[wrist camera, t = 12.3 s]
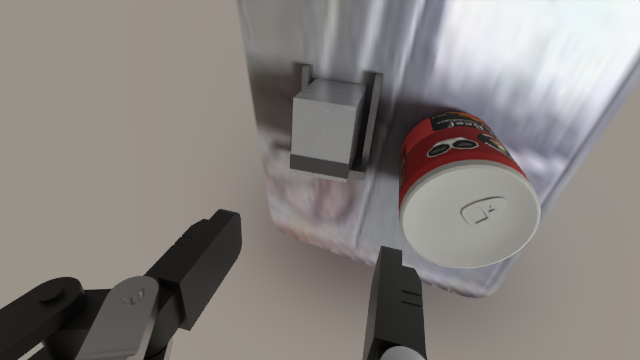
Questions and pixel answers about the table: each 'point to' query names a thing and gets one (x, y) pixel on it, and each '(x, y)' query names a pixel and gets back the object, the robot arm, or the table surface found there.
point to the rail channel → (360, 163)
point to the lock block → (326, 128)
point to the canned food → (463, 194)
